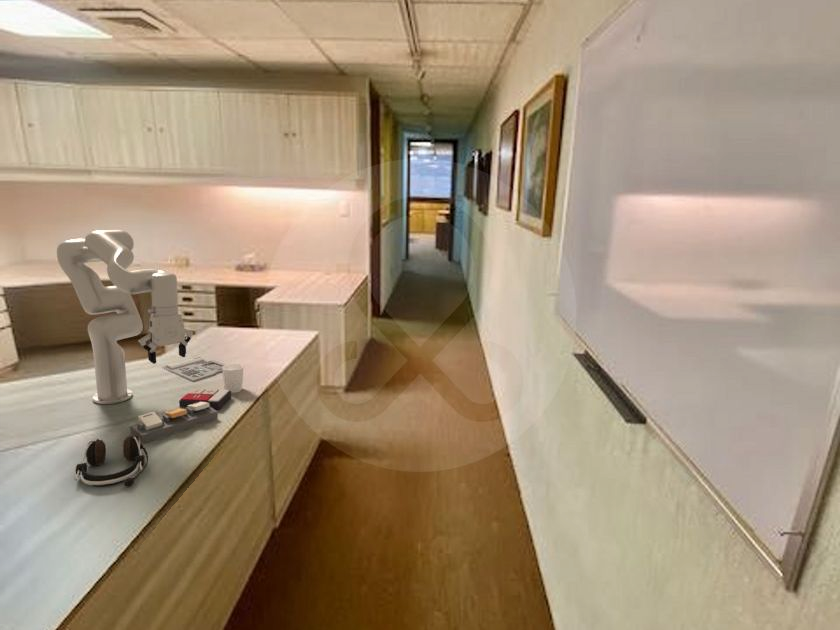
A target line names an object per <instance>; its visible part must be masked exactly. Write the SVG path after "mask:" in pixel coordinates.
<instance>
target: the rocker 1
mask: <svg viewBox="0 0 840 630" xmlns="http://www.w3.org/2000/svg"><path fill="white" fill-rule="evenodd" d="M158 416H159V415H158V414H157V413H156V412H155V411H151V412H148V413H144V414H142V415H138V422H141V423H142V424H143V425H144V427H145V429H146V430H148V429H152V428H155V427H158V426H161V425H162V420H161V419H160V418H159V417H158Z"/></svg>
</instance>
